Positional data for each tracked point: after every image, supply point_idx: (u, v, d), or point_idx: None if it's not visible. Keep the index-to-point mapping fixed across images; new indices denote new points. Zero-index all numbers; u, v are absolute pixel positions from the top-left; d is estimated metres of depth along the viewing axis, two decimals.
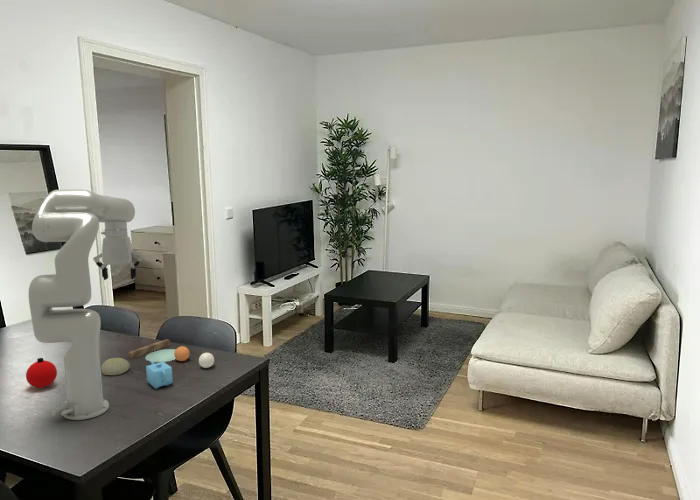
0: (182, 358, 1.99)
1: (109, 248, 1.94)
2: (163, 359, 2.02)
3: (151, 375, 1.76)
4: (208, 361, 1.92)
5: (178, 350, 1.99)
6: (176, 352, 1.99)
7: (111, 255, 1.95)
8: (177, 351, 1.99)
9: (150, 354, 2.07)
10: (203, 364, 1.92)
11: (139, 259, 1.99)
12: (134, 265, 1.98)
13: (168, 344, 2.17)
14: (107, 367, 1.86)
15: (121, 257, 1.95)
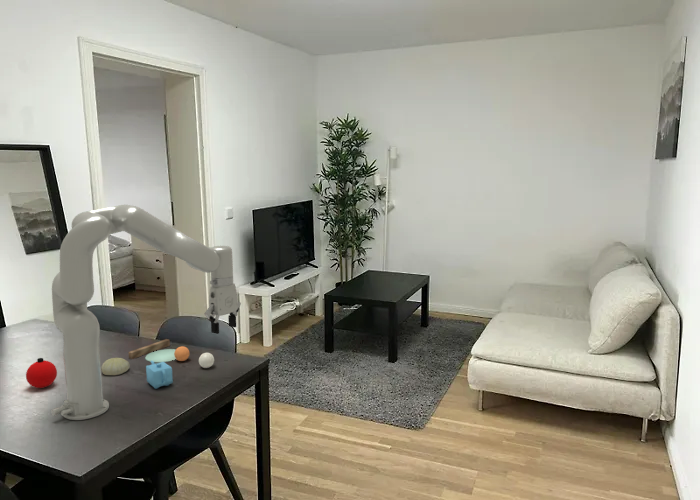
0: (182, 358, 1.99)
1: (224, 297, 1.82)
2: (163, 359, 2.02)
3: (151, 375, 1.76)
4: (208, 361, 1.92)
5: (178, 350, 1.99)
6: (176, 352, 1.99)
7: (225, 304, 1.83)
8: (177, 351, 1.99)
9: (150, 354, 2.07)
10: (203, 364, 1.92)
11: (238, 305, 1.92)
12: (236, 312, 1.91)
13: (168, 344, 2.17)
14: (107, 367, 1.86)
15: (232, 305, 1.86)
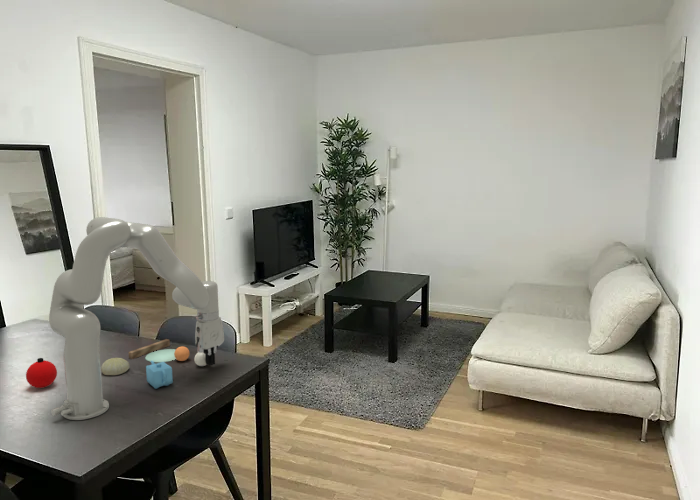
0: (182, 358, 1.99)
1: (209, 332, 1.88)
2: (163, 359, 2.02)
3: (151, 375, 1.76)
4: (202, 355, 1.94)
5: (178, 350, 1.99)
6: (176, 352, 1.99)
7: (211, 338, 1.89)
8: (177, 351, 1.99)
9: (150, 354, 2.07)
10: (199, 360, 1.93)
11: None
12: (215, 350, 1.94)
13: (168, 344, 2.17)
14: (107, 367, 1.86)
15: (218, 338, 1.92)
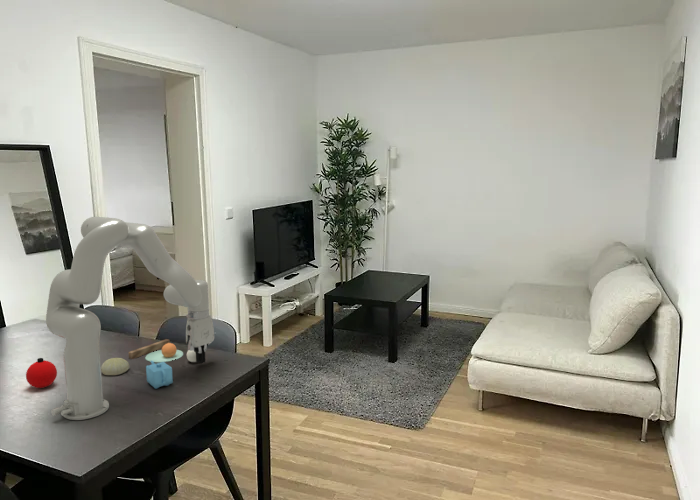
0: (163, 346, 2.04)
1: (200, 330, 1.91)
2: (163, 359, 2.02)
3: (151, 375, 1.76)
4: None
5: None
6: (163, 354, 2.03)
7: (201, 336, 1.92)
8: (163, 354, 2.04)
9: (150, 354, 2.07)
10: (188, 351, 1.99)
11: (209, 342, 1.98)
12: None
13: None
14: (107, 368, 1.86)
15: (209, 336, 1.95)
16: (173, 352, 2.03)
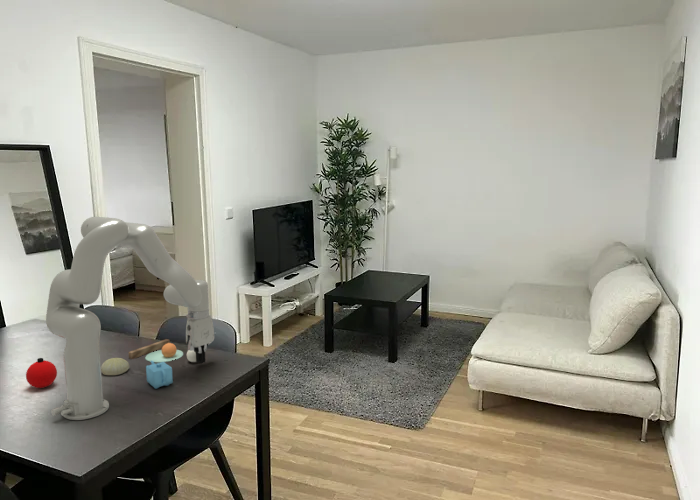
0: (163, 346, 2.04)
1: (200, 330, 1.91)
2: (163, 359, 2.02)
3: (151, 375, 1.76)
4: None
5: None
6: (163, 354, 2.03)
7: (201, 336, 1.92)
8: (163, 354, 2.04)
9: (150, 354, 2.07)
10: (188, 351, 1.99)
11: (209, 342, 1.98)
12: None
13: None
14: (107, 368, 1.86)
15: (209, 336, 1.95)
16: (173, 352, 2.03)
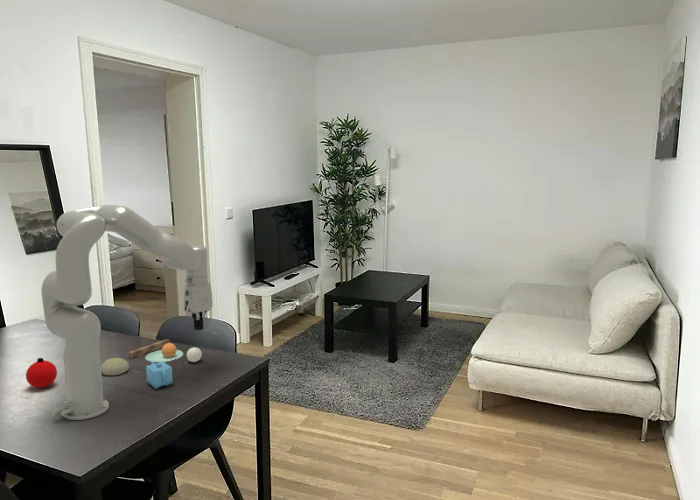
0: (163, 346, 2.04)
1: (198, 295, 1.89)
2: (163, 359, 2.02)
3: (151, 375, 1.76)
4: None
5: None
6: (163, 354, 2.03)
7: (200, 302, 1.90)
8: (163, 354, 2.04)
9: (150, 354, 2.07)
10: (188, 351, 1.99)
11: (207, 310, 1.96)
12: None
13: None
14: (107, 368, 1.86)
15: (207, 303, 1.93)
16: (173, 352, 2.03)
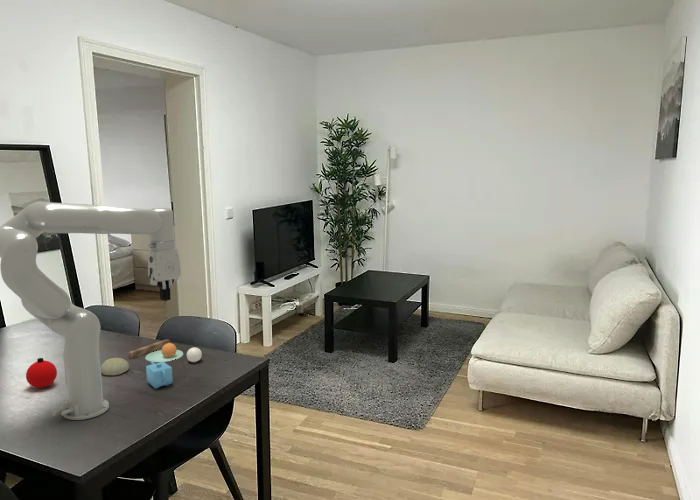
0: (163, 346, 2.04)
1: (164, 262, 1.72)
2: (163, 359, 2.02)
3: (151, 375, 1.76)
4: None
5: None
6: (163, 354, 2.03)
7: (165, 270, 1.73)
8: (163, 354, 2.04)
9: (150, 354, 2.07)
10: (188, 351, 1.99)
11: (175, 279, 1.79)
12: None
13: None
14: (107, 368, 1.86)
15: (174, 271, 1.76)
16: (173, 352, 2.03)
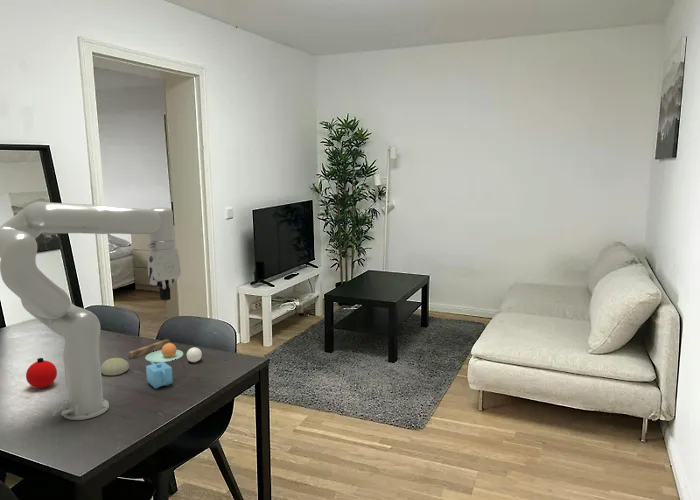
0: (163, 346, 2.04)
1: (163, 262, 1.72)
2: (163, 359, 2.02)
3: (151, 375, 1.76)
4: None
5: None
6: (163, 354, 2.03)
7: (165, 269, 1.73)
8: (163, 354, 2.04)
9: (150, 354, 2.07)
10: (188, 351, 1.99)
11: (175, 278, 1.79)
12: None
13: None
14: (107, 368, 1.86)
15: (174, 270, 1.76)
16: (173, 352, 2.03)
